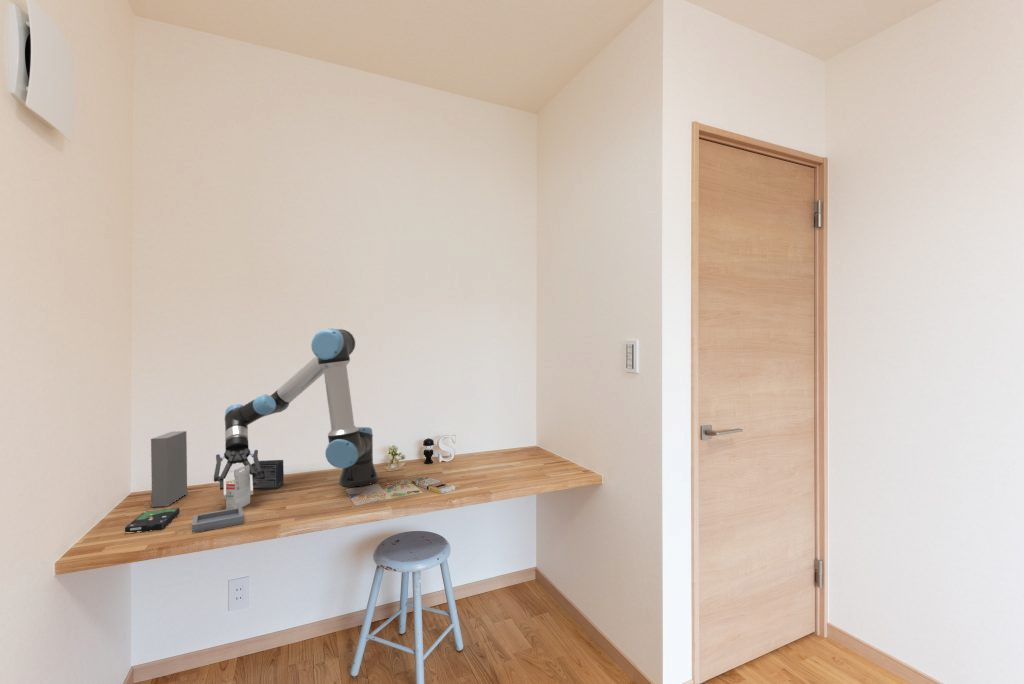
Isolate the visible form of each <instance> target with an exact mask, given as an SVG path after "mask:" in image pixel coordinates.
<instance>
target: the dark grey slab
mask: <svg viewBox="0 0 1024 684" xmlns="http://www.w3.org/2000/svg"><path fill="white" fill-rule="evenodd" d="M187 441H188V440H187V431H186V430H181V431H180V430H179V431H170V432H166V433H164V434H160V435H157V436H156V437H152V438H150V448H151V449H150V459H151V461H150V462H151V464H150V465H151V471H150V472H151V494H150V502H151V503H149V508H151V507H153V508H157V507H158V508H159V507H161V508H162V507H165V506H168V507H169V506H170V505H172V504H173V502H174V503H175V502H177V501H179V500H180V499H181V497H182V496H183V497H185V496H186V495H185V494H187V493H189V492H188V458H187V457H188V456H187V453H188V451H187V449H188V447H187ZM184 495H185V496H184ZM187 495H188V494H187ZM183 497H182V498H183ZM179 498H180V499H179ZM176 500H177V501H176Z"/></svg>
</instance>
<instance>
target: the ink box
mask: <svg viewBox="0 0 1024 684" xmlns="http://www.w3.org/2000/svg"><path fill="white" fill-rule="evenodd" d="M233 472H234V473H233V474H234V475H233V476H234V480H232V481H229V482H226V499H225V501H226V503H225V506H226V507H225V510H227V509H233V508H238V507H242V509H243V508H244V507H247V506H248V505H250V504H251V495H250V468H249V465H246V466H245V465H244V466H242V467H239V468H236V469H234V471H233Z"/></svg>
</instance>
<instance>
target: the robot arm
mask: <svg viewBox="0 0 1024 684" xmlns="http://www.w3.org/2000/svg"><path fill="white" fill-rule="evenodd" d="M310 346H311V351H312V352H313V354H314V355H315V356H314V357H313V358H312V359H311V360H309V362H307V363H306V364H305V365H304V366H302V368H300V369H299V370H298V371H297V372H295V374H294V375H292V377H290V378H289V379H288V380H286V382H284V383H283V384H282V385H281V386H280V387H279V388H278V389H276V390H275V392H273V393H271V394H270V395H269V394H267V393H265V394H262V395H260V396H257V397H255V399H253V400H251V401H249V402H248V403H246V404H244V405H243V404H240V403H239V404H233V405H232V404H231V405H230V406H228V407H226V410H225V413H224V425H225V433H224V435H225V436H224V437H225V439H224V441H225V446H224V447H225V452H224V453H223V454H219V453H218V454H216V455H215V461H216V464H215V468H214V473H213V482H214V483H216V482H218V483H219V490H220V491H223V500H226V484H227V478H226V477H227V476H228V474H229V471H230V469H231V468H232V466H233V464H234V465H235V464H243V465H244V466H246V465H249V468H250V496H252V495H253V494H254V490H253V485H256V476H260V475H261V468H260V464H259V461H260V460H259V456H258V455H259V451H258V449H255V450H250V449H249V432H248V430H249V429H248V425H251V424H252V423H254V422H256V421H257V420H260V419H262V418H264V417H266V416H270V415H273V414H277V413H281V412H284V411H285V410H287V409H288V407H289V406H290V403H291V402H293V401H294V400H295V399H296V398H297V397H298V396H300V395H301V394H302V393H303V392H304V391H305V390H306V389H308V388H309V387H310V386H311V385H312V384H313V383H315V382H316V381H317V380H318V379H319V378H321V377H322V376H324V383H325V392H326V399H327V400H326V401H327V405H328V413H329V421H330V431H329V432H328V434H327V440H328V444H327V446H326V448H325V458H326V460H327V462H328V463H329V464H330V465H331V466H332V467H334V468H337V469H341V473H340V476H339V485H340V486H341V485H342V487H345V488H346V487H347V488H356V487H355V486H361V487H363V486H362V485H366V484H370V483H373V484H375V483H376V482H377V481H378V473H377V470H376V467H375V464H374V458H373V453H374V452H373V451H374V449H373V448H374V447H373V444H374V443H373V441H374V440H373V439H374V438H373V437H374V435H373V429H372V428H371V427H367V426H363V427H361V426H360V427H359V426H358V427H357V426H356V425H355V419H354V414H353V413H354V411H353V407H352V406H353V404H352V397H351V390H350V389H351V388H350V385H349V384H350V383H349V374H348V373H349V372H348V368H347V367H348V364H349V363H350V362H351V358H350V357H351V356H350V355H351V354H352V353H353V352H354V350H355V347H356V340H355V336H353V334H352V333H351V332H350V331H348V330H346V329H342V328H341V329H337V328H325V329H322V330H319V331H318V332H316V334H315V335H314V336H313V338H312V340H311V344H310ZM249 456H251V458H253V463H254V464H255V468H256V471H254V469H253V467H252V466H251V464H252V463H251V462H250V461H249V459H248V457H249ZM224 459H225V460H227V462H226V465H225V466H224V468H223V471H221V474H220V470H221V465H222V462H223V461H224ZM374 482H375V483H374ZM370 485H371V484H370ZM366 486H367V485H366Z"/></svg>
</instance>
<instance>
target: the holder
mask: <svg viewBox="0 0 1024 684" xmlns="http://www.w3.org/2000/svg"><path fill="white" fill-rule="evenodd" d="M237 524H238V525H243V524H244V511H243V508H242V507H238V508H233V509H227V510H226V509H222V510H215V511H211V512H204V513H199V514H194V515H193V517H192V524H191V530H192V531H191V533H192V534H194V533H193V532H196V533H200V532H199V531H201V532H205V530H207V531H211V529H212V530H216V529H221V528H226V527H227V526H228V527H231V526H232V525H233V526H237ZM233 526H232V527H233Z"/></svg>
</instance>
